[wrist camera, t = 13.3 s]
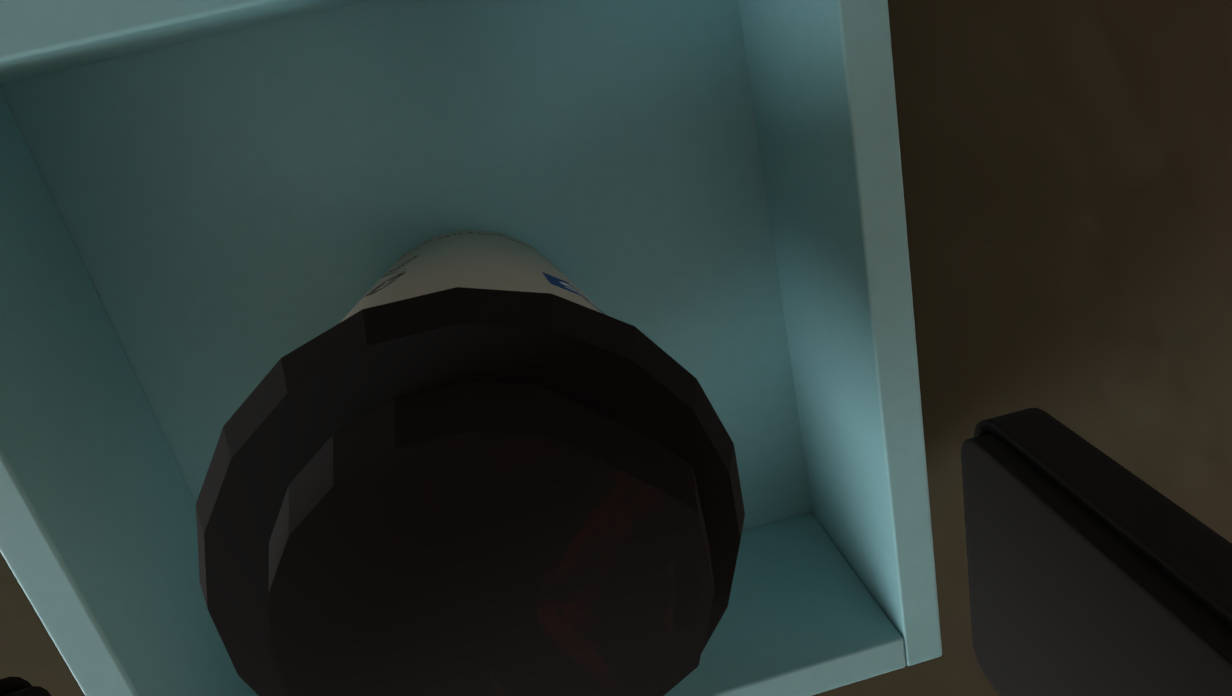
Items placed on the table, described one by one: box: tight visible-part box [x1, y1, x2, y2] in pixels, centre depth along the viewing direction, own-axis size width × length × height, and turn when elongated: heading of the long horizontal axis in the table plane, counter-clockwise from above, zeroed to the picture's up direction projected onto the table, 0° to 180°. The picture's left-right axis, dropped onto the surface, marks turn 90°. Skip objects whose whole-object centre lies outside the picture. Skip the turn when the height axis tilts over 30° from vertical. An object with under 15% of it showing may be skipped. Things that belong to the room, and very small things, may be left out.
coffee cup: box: [196, 230, 745, 696], centre depth 14 cm, size 7×7×10 cm
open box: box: [0, 0, 942, 696], centre depth 17 cm, size 16×16×6 cm
